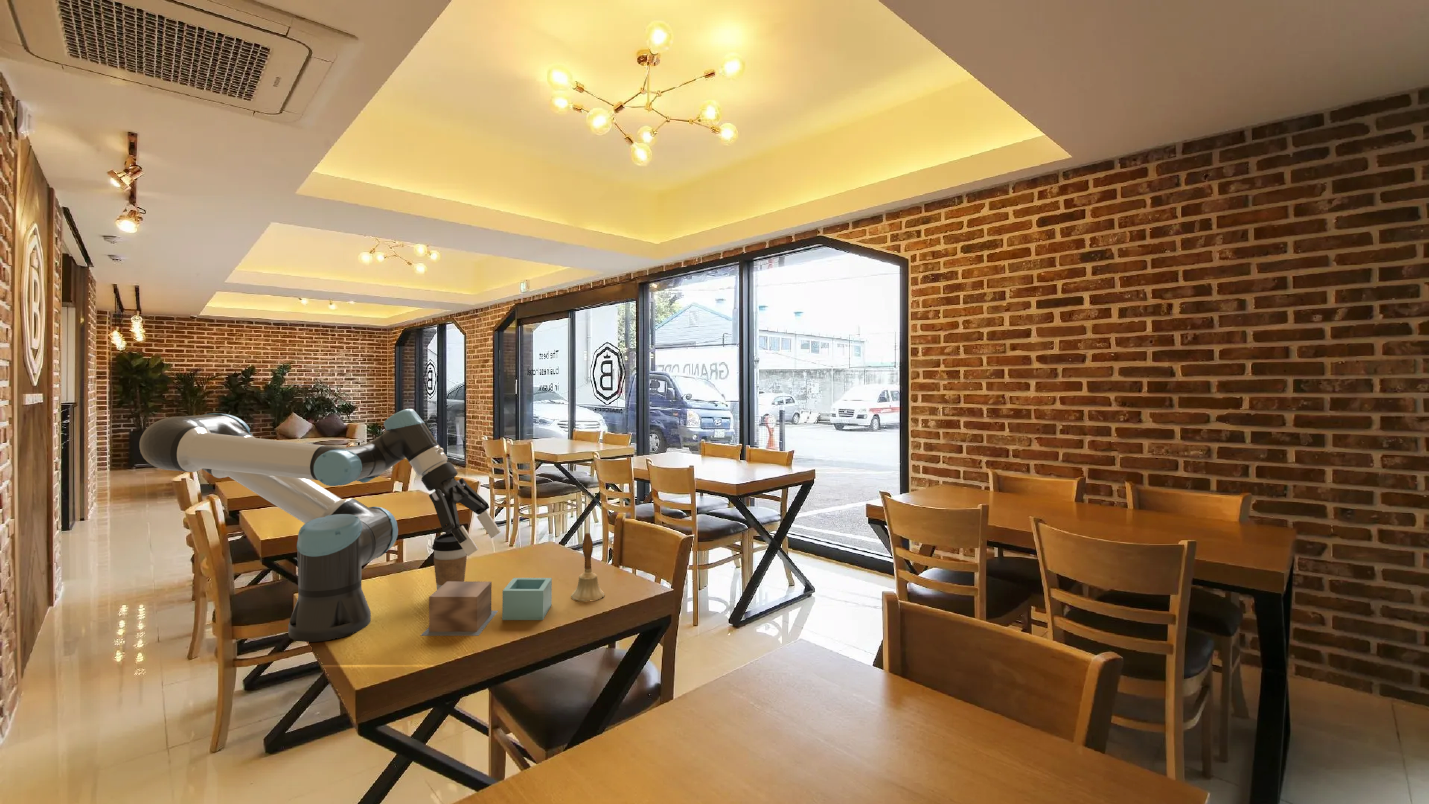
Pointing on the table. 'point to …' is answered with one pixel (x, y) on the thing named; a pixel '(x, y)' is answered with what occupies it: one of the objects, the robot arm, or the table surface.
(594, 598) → the hand bell
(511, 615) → the mint square pot
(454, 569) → the coffee cup
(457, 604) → the brown wooden block
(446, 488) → the robot arm
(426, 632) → the mat
